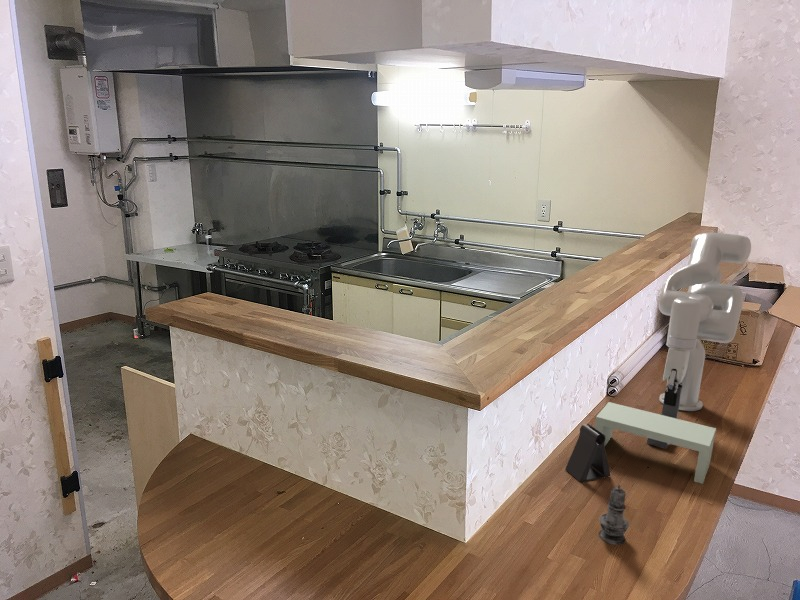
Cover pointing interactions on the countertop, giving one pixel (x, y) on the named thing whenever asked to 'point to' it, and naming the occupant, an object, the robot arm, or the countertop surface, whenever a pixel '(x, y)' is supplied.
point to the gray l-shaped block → (670, 412)
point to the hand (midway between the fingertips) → (672, 400)
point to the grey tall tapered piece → (614, 519)
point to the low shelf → (659, 431)
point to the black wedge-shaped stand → (589, 456)
